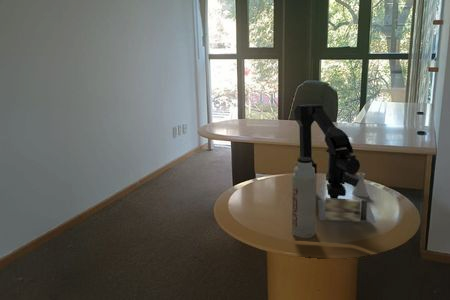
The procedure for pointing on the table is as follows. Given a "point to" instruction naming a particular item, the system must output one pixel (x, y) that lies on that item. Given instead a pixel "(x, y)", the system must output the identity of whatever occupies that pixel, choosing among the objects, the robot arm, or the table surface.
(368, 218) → the slate board
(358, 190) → the flask
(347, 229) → the table surface
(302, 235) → the thermos bottle
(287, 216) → the table surface
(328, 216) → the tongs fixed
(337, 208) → the beige flat block
